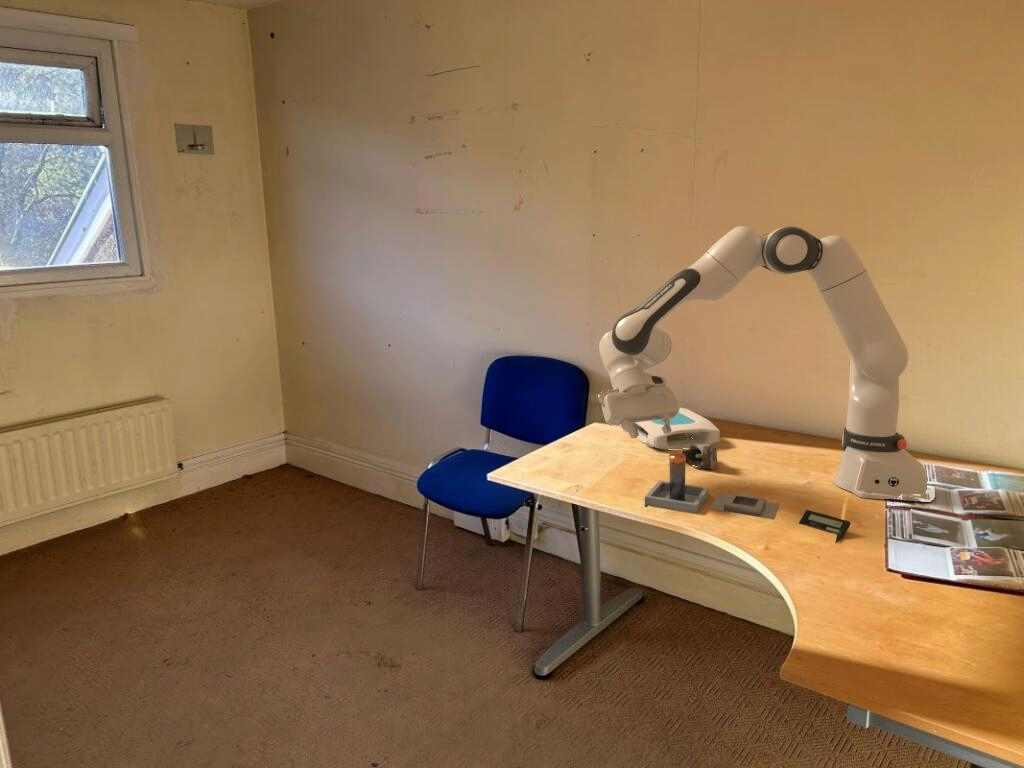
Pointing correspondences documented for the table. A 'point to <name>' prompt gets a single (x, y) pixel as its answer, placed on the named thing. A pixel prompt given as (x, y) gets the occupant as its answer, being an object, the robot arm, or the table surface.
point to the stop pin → (677, 476)
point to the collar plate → (745, 505)
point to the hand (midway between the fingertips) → (651, 434)
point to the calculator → (825, 523)
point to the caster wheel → (702, 455)
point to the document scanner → (677, 431)
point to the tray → (692, 502)
